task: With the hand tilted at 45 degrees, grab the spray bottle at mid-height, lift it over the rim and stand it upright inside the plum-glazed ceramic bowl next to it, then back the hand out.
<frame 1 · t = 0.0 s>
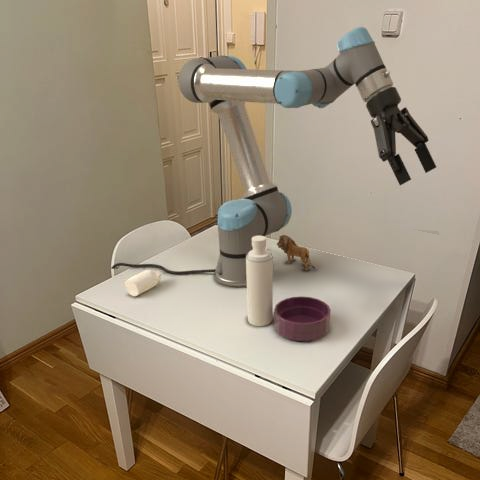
hand: (418, 176, 117), 36 cm above the table, tool tilted 35°, fingers open, 13 cm apart
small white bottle: (147, 288, 151), on the table
spray bottle: (260, 320, 132), on the table
lion figurine: (295, 264, 162), on the table
bowl: (301, 327, 128), on the table
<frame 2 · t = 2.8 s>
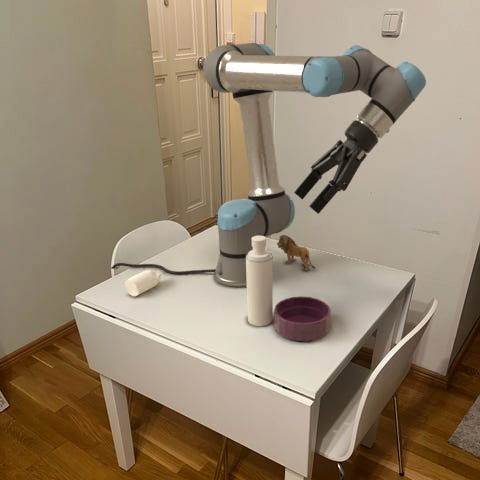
hand: (305, 202, 118), 31 cm above the table, tool tilted 40°, fingers open, 13 cm apart
nothing on the table moved.
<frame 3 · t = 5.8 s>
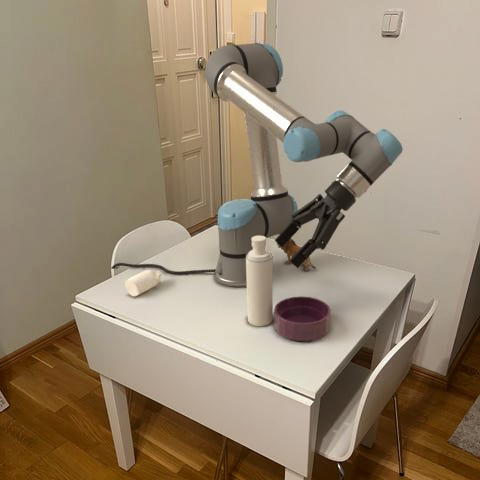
hand: (285, 253, 123), 19 cm above the table, tool tilted 45°, fingers open, 13 cm apart
nothing on the table moved.
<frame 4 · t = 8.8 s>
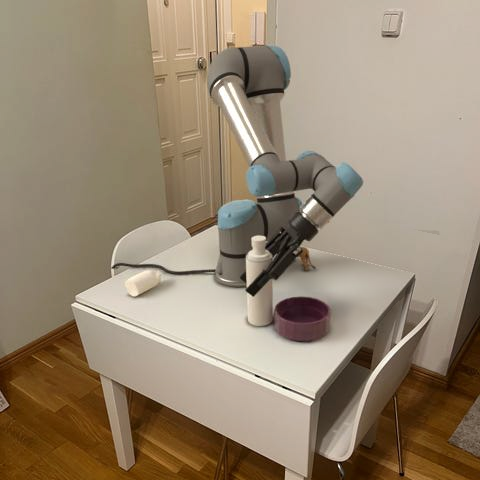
hand: (246, 286, 126), 10 cm above the table, tool tilted 45°, fingers closed on spray bottle, 7 cm apart
spray bottle: (260, 320, 132), on the table, touching gripper
everything else where it was.
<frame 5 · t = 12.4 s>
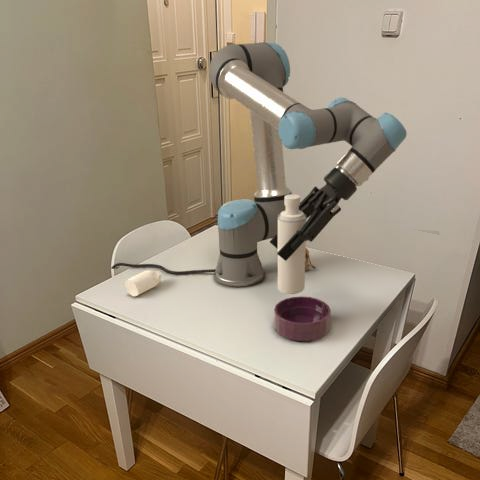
hand: (277, 251, 117), 22 cm above the table, tool tilted 45°, fingers closed on spray bottle, 7 cm apart
spray bottle: (290, 288, 123), point 11 cm above the table, touching gripper
everything else where it was.
when the fingers open (11 cm above the table, at t = 16.0 s): spray bottle stays where it is, resting on bowl.
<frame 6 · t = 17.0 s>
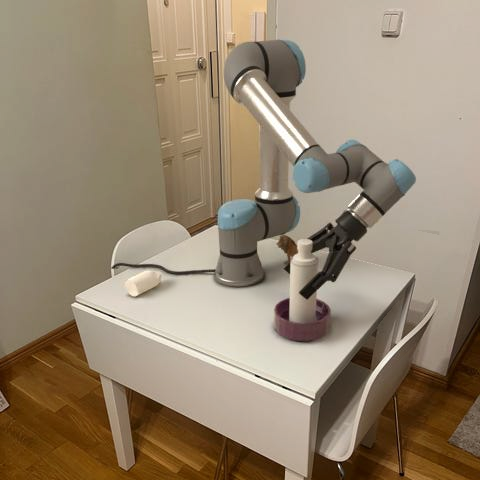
hand: (294, 283, 121), 13 cm above the table, tool tilted 45°, fingers open, 13 cm apart
spray bottle: (302, 326, 128), resting on bowl
everything else where it was.
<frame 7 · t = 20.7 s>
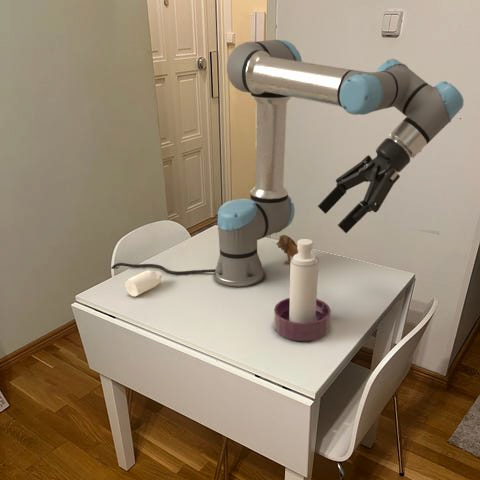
hand: (331, 219, 115), 29 cm above the table, tool tilted 45°, fingers open, 13 cm apart
nothing on the table moved.
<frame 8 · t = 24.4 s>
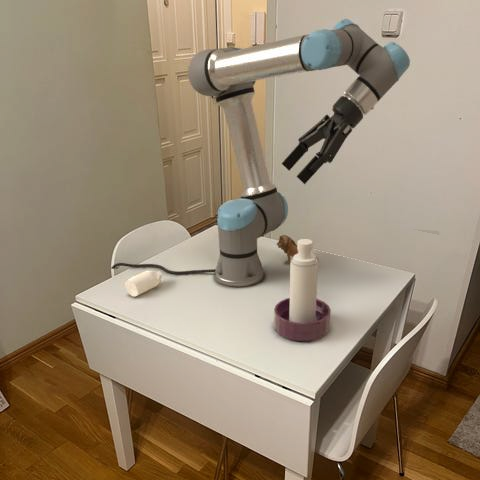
hand: (292, 173, 124), 36 cm above the table, tool tilted 45°, fingers open, 13 cm apart
nothing on the table moved.
at the end: spray bottle inside the target area in the bowl (0.1 cm from its centre), point 0.4 cm above the bowl's base; spray bottle tilted 0°; the gripper is holding nothing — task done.
